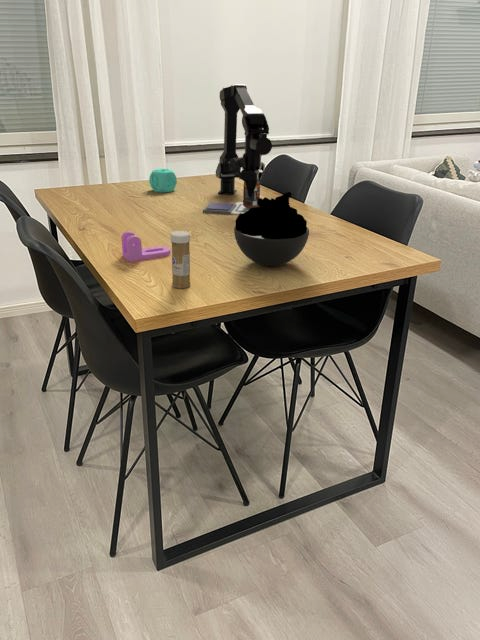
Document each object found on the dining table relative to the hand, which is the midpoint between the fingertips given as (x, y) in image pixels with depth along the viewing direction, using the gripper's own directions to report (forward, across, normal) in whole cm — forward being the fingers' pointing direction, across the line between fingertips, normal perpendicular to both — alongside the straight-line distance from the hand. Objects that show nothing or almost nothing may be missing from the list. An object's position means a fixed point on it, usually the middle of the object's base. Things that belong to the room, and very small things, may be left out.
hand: (251, 194), depth 209 cm
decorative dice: (+6, -21, -40) cm, 45 cm away
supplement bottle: (+4, 0, 0) cm, 4 cm away
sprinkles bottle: (+5, +77, -4) cm, 77 cm away
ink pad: (+5, +3, -11) cm, 13 cm away
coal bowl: (+5, +56, +15) cm, 58 cm away
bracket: (+6, +57, -19) cm, 61 cm away
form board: (+5, 0, 0) cm, 5 cm away
